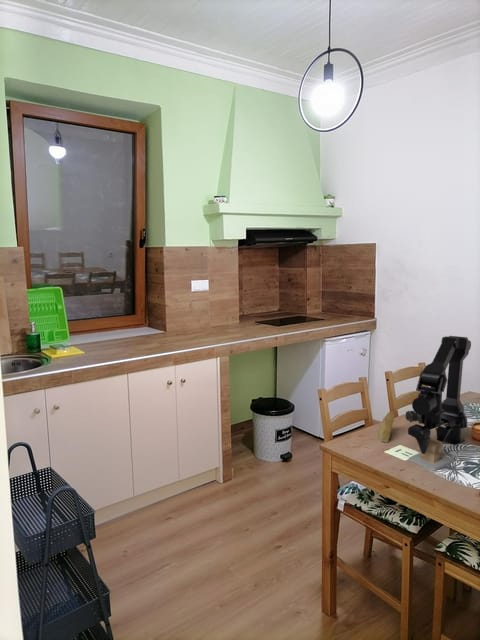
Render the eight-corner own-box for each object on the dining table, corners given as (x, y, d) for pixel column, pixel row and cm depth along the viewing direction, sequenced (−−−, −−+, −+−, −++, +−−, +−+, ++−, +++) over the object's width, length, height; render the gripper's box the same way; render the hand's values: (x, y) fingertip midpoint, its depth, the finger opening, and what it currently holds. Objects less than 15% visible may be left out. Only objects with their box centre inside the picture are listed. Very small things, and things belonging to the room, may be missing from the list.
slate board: (427, 451, 164) (427, 449, 164) (454, 461, 156) (454, 458, 155) (408, 460, 158) (408, 457, 158) (434, 471, 150) (435, 468, 149)
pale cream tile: (400, 445, 170) (400, 444, 170) (421, 453, 163) (421, 453, 163) (384, 451, 165) (384, 451, 165) (405, 460, 158) (405, 460, 158)
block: (429, 453, 160) (429, 437, 159) (442, 458, 156) (442, 442, 155) (420, 457, 157) (420, 441, 156) (433, 463, 153) (434, 446, 152)
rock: (393, 440, 169) (406, 428, 176) (379, 420, 171) (392, 409, 178) (373, 449, 177) (386, 438, 183) (360, 430, 179) (373, 419, 185)
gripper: (427, 394, 165) (426, 435, 168) (394, 406, 155) (394, 449, 158) (456, 402, 156) (455, 445, 159) (423, 415, 146) (422, 461, 148)
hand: (431, 450), depth 156 cm, fingers open, 9 cm apart
